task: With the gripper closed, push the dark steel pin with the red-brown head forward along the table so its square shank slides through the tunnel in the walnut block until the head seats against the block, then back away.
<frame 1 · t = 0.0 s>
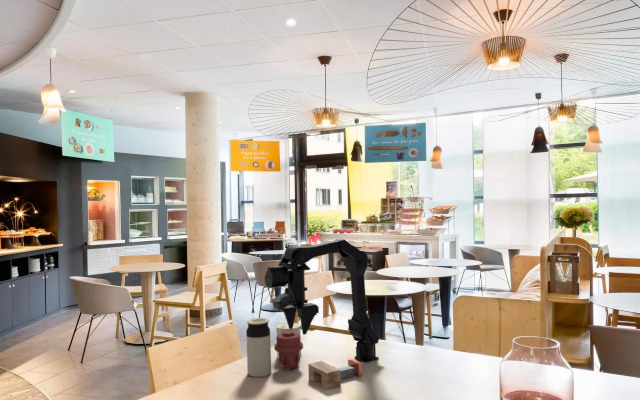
hand: (297, 331, 165), 15 cm above the table, tool pointing down, fingers open, 9 cm apart
mechanical component: (289, 368, 173), on the table
block: (324, 382, 158), on the table
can: (289, 357, 185), on the table
pin: (345, 377, 162), on the table
travel mug: (259, 374, 168), on the table
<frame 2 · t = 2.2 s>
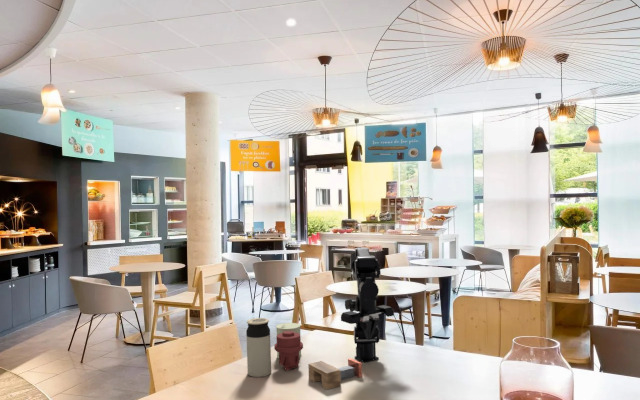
hand: (368, 339, 167), 10 cm above the table, tool pointing down, fingers closed
nothing on the table moved.
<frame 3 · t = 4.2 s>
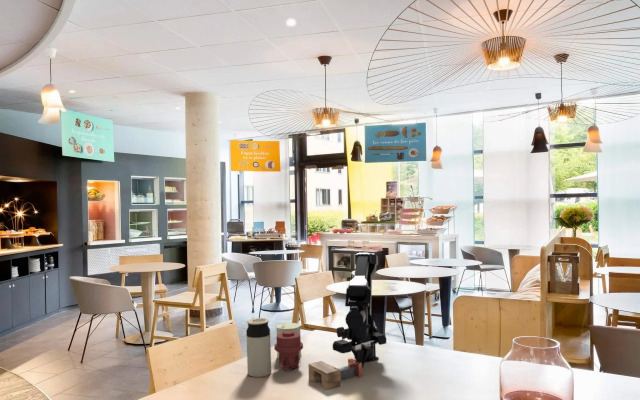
hand: (360, 368, 165), 2 cm above the table, tool pointing down, fingers closed
pin: (345, 377, 162), on the table, touching gripper
everything else where it was.
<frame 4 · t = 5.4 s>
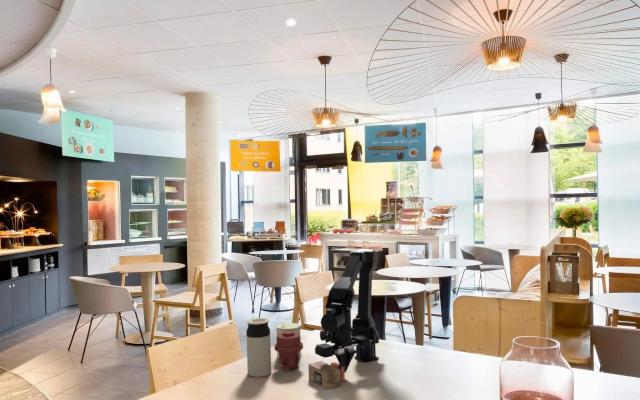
hand: (344, 372, 162), 2 cm above the table, tool pointing down, fingers closed
pin: (327, 381, 158), on the table, touching gripper
everything else where it was.
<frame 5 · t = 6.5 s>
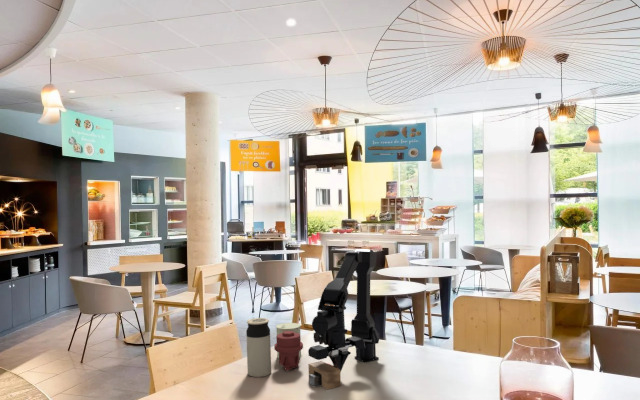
hand: (338, 373, 160), 2 cm above the table, tool pointing down, fingers closed
pin: (321, 383, 157), on the table, touching block, gripper
everything else where it was.
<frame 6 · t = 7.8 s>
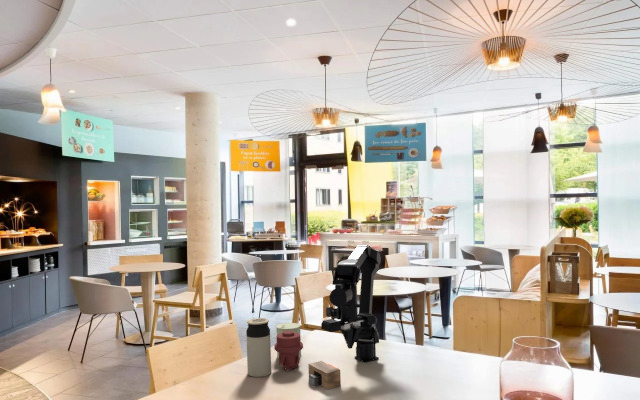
hand: (350, 348, 163), 9 cm above the table, tool pointing down, fingers closed
pin: (321, 383, 157), on the table
everything else where it was.
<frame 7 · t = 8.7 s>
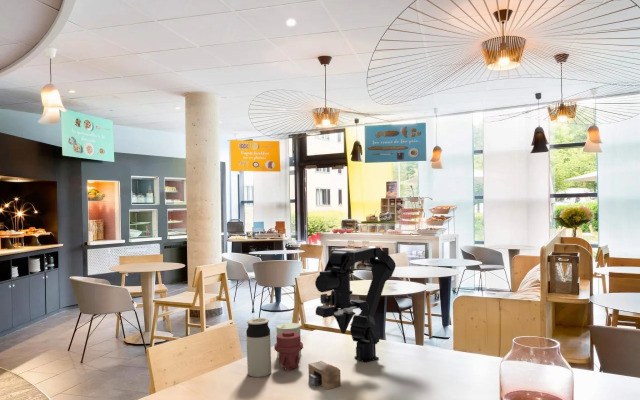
hand: (343, 333, 171), 12 cm above the table, tool pointing down, fingers closed
nothing on the table moved.
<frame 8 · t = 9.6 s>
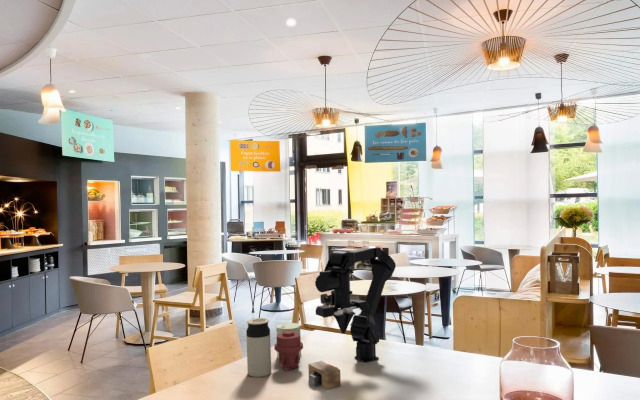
hand: (343, 333, 171), 12 cm above the table, tool pointing down, fingers closed
nothing on the table moved.
at the end: pin 0.5 cm off-centre on the block, point 0.0 cm above the block's base; pin moved 9.0 cm from its start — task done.
